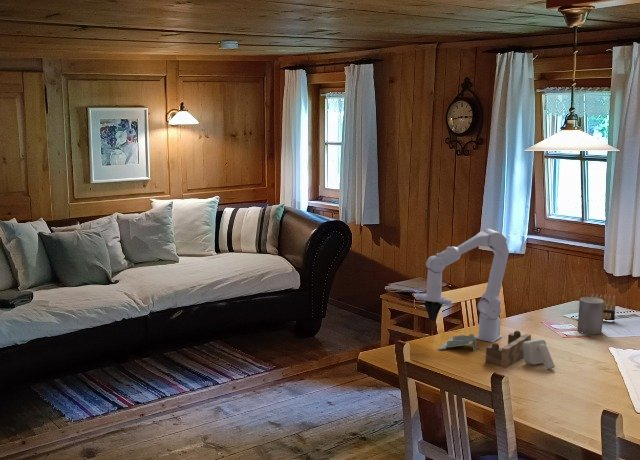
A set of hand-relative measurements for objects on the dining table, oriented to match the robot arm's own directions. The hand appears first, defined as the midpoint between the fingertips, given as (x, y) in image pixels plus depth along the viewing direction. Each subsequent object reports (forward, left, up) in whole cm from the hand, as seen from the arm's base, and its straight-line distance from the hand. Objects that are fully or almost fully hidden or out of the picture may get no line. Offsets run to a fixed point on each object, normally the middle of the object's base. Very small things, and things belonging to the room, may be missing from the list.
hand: (432, 320), depth 299 cm
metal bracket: (0, +12, -9) cm, 15 cm away
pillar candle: (-54, +45, -9) cm, 71 cm away
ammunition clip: (-74, +44, -9) cm, 87 cm away
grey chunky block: (+1, +45, -9) cm, 46 cm away
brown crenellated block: (0, +33, -8) cm, 34 cm away
